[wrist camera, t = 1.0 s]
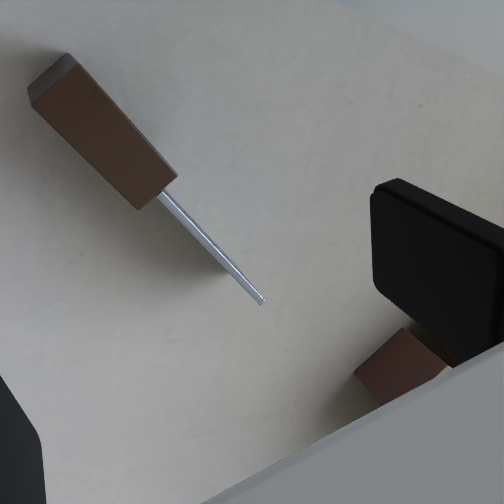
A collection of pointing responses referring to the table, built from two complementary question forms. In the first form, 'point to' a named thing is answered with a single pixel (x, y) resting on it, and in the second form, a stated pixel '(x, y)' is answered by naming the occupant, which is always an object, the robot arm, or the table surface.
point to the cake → (402, 367)
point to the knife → (114, 146)
